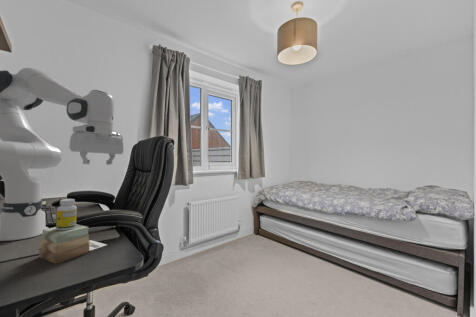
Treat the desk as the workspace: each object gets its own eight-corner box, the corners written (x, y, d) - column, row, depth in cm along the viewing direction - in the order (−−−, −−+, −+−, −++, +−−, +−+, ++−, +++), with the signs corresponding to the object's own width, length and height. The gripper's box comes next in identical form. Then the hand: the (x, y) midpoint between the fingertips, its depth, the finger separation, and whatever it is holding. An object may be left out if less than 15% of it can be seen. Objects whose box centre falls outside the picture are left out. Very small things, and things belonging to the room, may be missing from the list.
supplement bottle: (55, 227, 76) (57, 199, 76) (75, 225, 79) (77, 198, 79) (55, 231, 71) (57, 201, 72) (76, 229, 75) (78, 200, 75)
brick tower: (38, 257, 73) (40, 229, 73) (72, 247, 82) (73, 222, 82) (56, 263, 68) (57, 234, 69) (88, 252, 78) (90, 226, 78)
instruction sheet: (73, 245, 83) (73, 244, 83) (90, 240, 89) (90, 239, 89) (90, 250, 79) (90, 250, 79) (107, 245, 85) (107, 244, 85)
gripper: (117, 134, 100) (116, 164, 100) (67, 126, 81) (65, 163, 81) (127, 134, 97) (126, 165, 97) (78, 125, 79) (76, 164, 78)
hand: (98, 164), depth 89 cm, fingers open, 8 cm apart
